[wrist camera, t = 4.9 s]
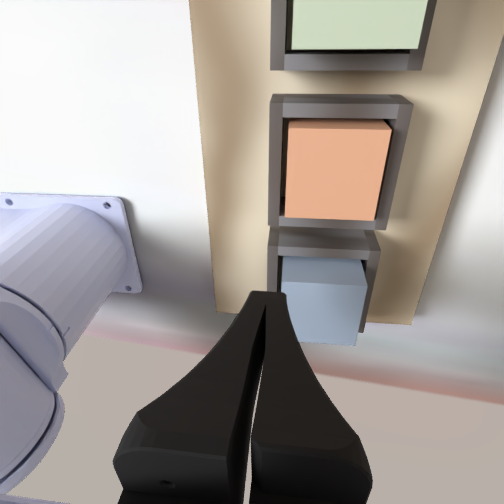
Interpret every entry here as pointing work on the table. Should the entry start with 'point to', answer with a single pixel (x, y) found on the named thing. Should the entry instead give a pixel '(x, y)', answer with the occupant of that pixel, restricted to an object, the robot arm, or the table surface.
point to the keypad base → (334, 106)
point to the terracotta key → (335, 167)
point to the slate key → (324, 298)
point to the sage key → (357, 24)
